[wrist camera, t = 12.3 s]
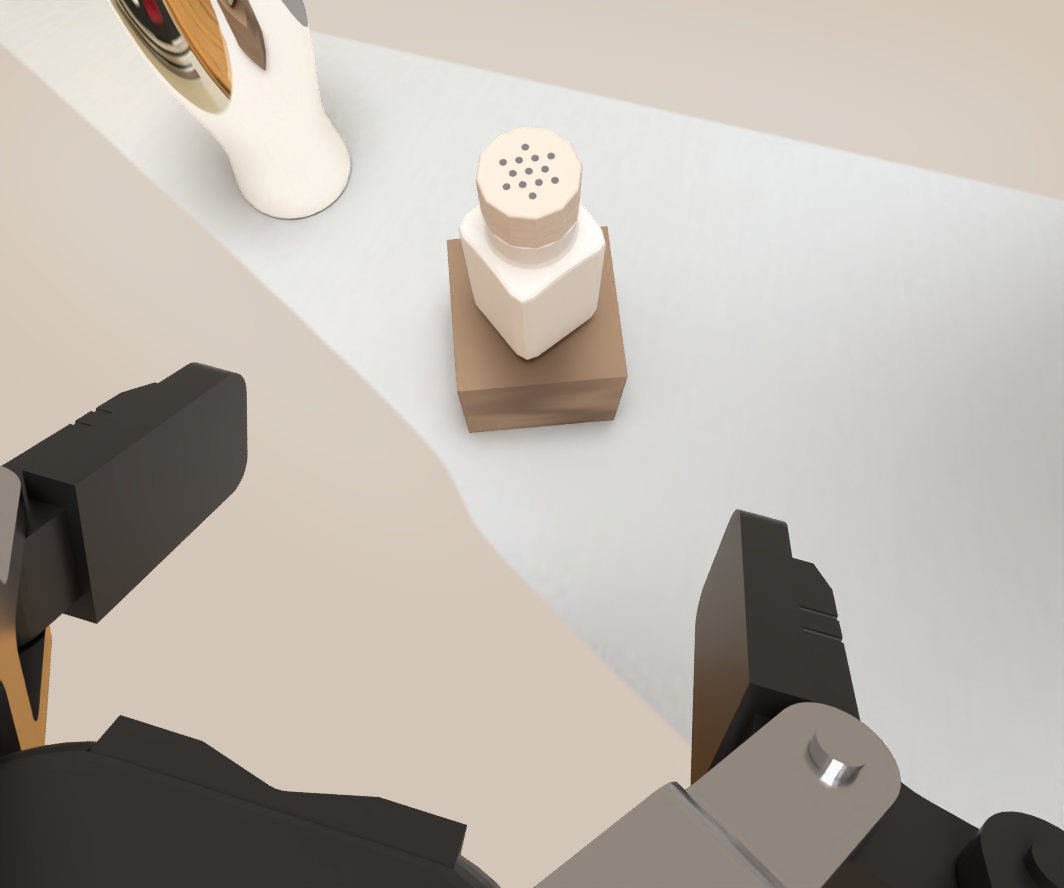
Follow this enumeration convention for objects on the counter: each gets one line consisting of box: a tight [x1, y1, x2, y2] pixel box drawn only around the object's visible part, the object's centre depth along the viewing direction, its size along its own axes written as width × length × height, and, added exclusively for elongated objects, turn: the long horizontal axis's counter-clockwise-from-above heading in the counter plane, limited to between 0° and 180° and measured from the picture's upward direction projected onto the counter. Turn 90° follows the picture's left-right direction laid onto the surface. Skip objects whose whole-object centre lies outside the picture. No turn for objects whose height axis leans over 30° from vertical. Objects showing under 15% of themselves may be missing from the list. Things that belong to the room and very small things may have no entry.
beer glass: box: [107, 0, 351, 219], centre depth 33 cm, size 7×7×15 cm
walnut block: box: [447, 226, 627, 433], centre depth 35 cm, size 7×7×6 cm
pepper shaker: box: [459, 127, 606, 360], centre depth 27 cm, size 4×4×10 cm
